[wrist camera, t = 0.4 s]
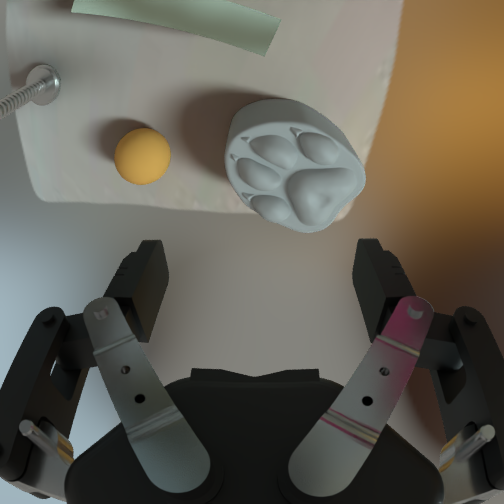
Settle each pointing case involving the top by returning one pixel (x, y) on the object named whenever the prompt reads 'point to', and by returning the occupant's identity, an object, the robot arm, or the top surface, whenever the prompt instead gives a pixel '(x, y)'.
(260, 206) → the lumpy-topped squat cylinder
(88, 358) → the robot arm
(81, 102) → the top surface
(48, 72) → the screw
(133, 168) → the ball
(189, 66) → the top surface
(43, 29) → the top surface
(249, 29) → the bridge
